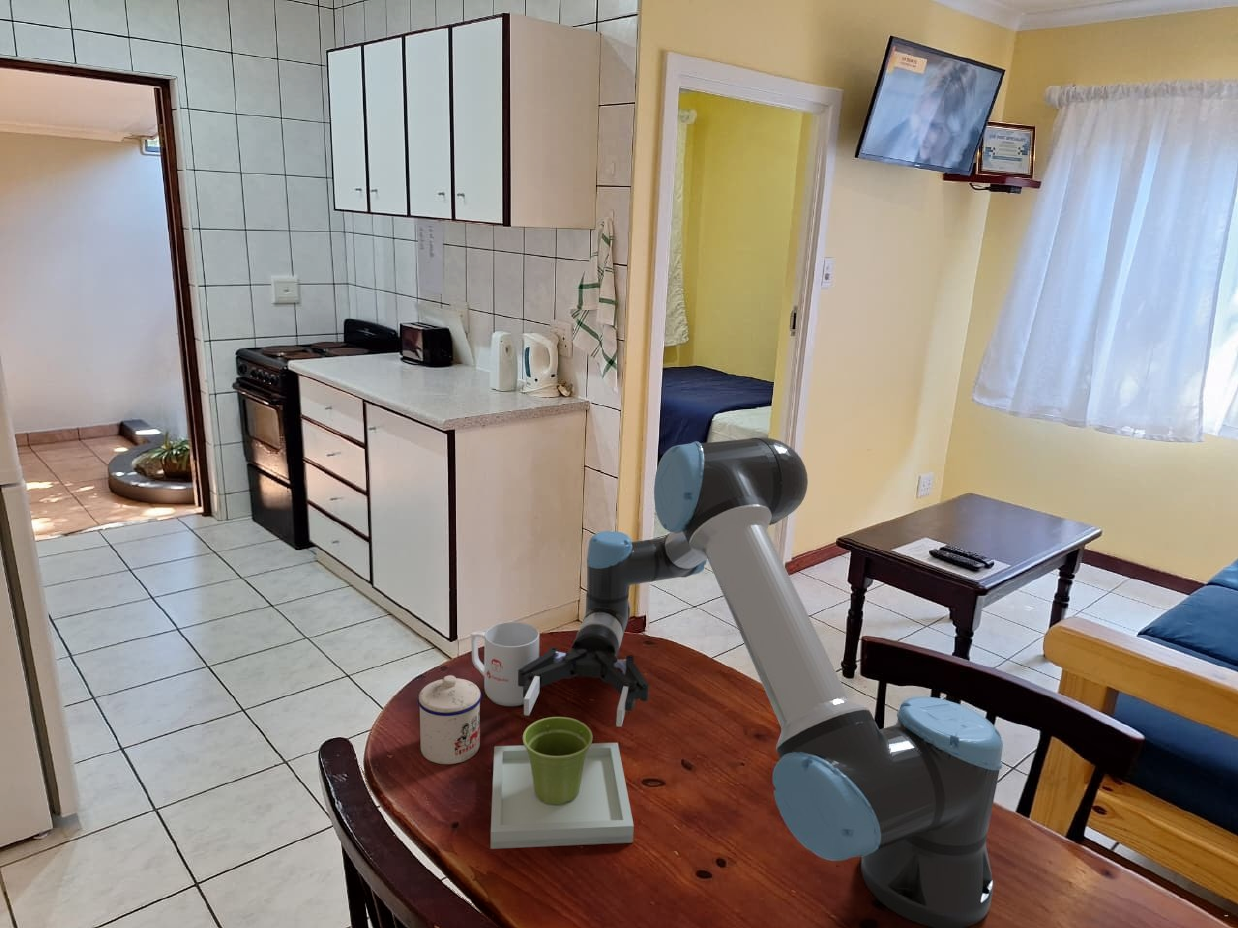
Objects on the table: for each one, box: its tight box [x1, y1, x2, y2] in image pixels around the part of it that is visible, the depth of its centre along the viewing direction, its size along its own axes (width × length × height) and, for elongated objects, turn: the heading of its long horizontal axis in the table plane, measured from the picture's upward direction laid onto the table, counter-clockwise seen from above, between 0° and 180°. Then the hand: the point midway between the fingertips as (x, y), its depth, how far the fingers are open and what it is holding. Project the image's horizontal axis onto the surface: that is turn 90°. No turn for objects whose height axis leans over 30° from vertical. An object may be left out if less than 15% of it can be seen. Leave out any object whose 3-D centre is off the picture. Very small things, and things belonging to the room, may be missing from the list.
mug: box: [470, 621, 540, 707], centre depth 140 cm, size 12×9×11 cm
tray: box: [490, 742, 635, 850], centre depth 116 cm, size 18×18×2 cm
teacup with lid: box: [417, 674, 482, 765], centre depth 126 cm, size 12×9×12 cm
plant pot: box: [522, 716, 594, 805], centre depth 115 cm, size 9×9×9 cm
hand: (572, 712), depth 122 cm, fingers open, 13 cm apart
